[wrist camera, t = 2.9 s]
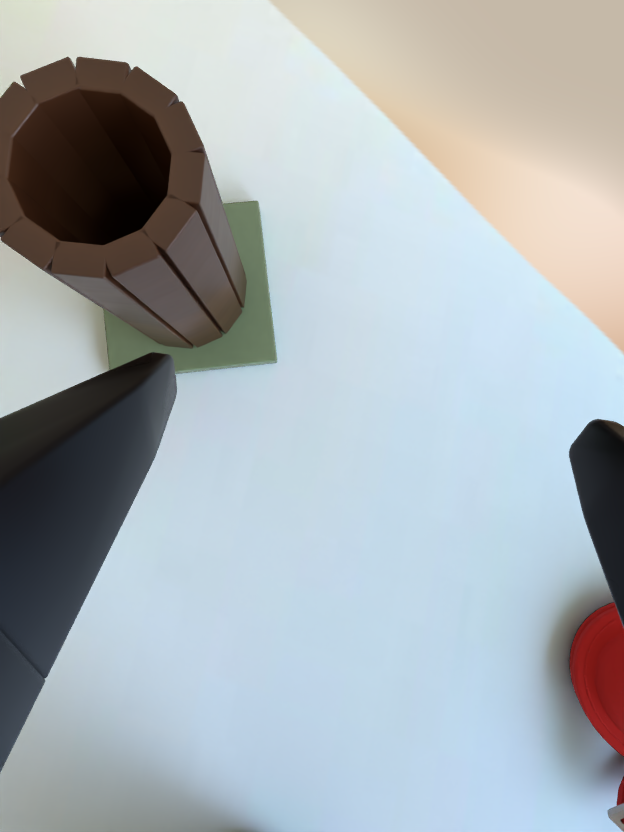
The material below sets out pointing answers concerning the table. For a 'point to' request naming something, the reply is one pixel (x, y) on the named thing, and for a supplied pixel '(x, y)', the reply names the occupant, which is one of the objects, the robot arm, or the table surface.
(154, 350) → the peg stand
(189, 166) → the brown slatted pencil holder
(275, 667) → the table surface
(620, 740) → the tracker holder
